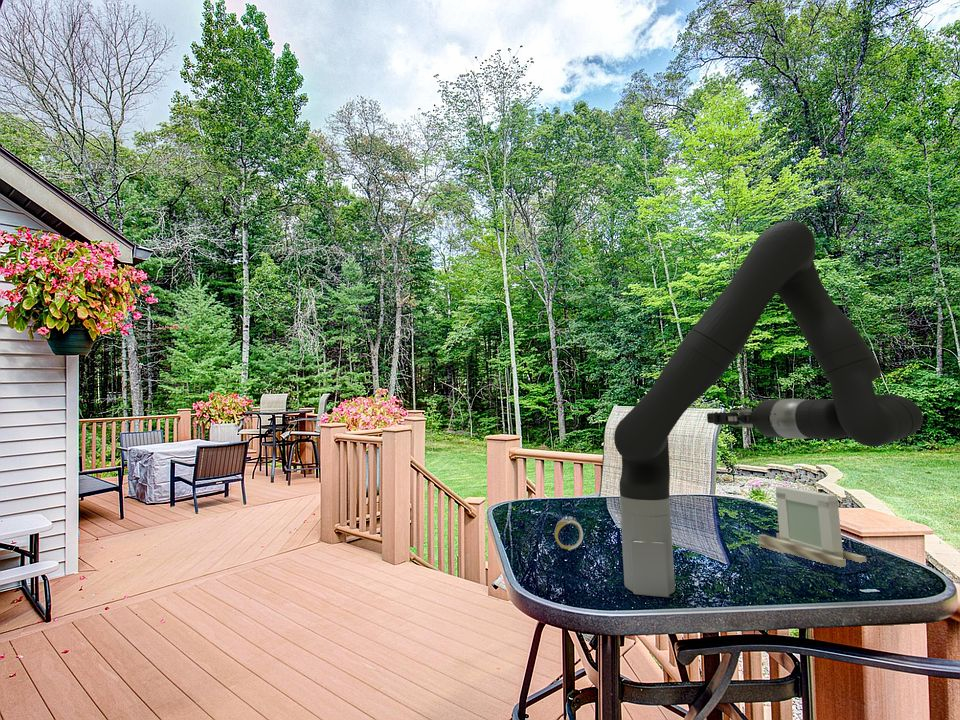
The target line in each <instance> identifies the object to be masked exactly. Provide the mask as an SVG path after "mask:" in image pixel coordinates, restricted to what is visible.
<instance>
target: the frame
mask: <svg viewBox="0 0 960 720" xmlns="http://www.w3.org/2000/svg"><path fill="white" fill-rule="evenodd" d="M775 496H776V497H775V498H776V508H777V509H776V510H777V520H778V533H779V534H780V539H781V540H784V541H787V542H791V543H794V544H797V545H800V546H804V547H807V548H810V549H814V550H817V551H820V552H824V553H827V554H830V555H833V556H837V557H840V558H843V542H842V541H843V540H842V539H843V538H842V533H841V532H842V531H841V522H840V520H841V519H840V512H839V511H840V510H839V502H838V501H839V500H838V499H839V498H838V495H836V494H830V493H829V494H828V493H824V492H819V491H814V490H807V489H802V488H797V487H791V486H784V485H783V486H782V485H781V486H775Z"/></svg>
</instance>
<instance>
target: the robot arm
mask: <svg viewBox="0 0 960 720" xmlns="http://www.w3.org/2000/svg"><path fill="white" fill-rule="evenodd" d="M816 245H817V244H816V239H815V236H814V233H813V232H812V230H811V229H810V228H809V226H807V225H806V224H805V223H802V222H800V221H797V220H786V221H782V222H778V223H776V224H773V225H771V226H769V227H768V228H766V229H765V230H764V231H763V232H761V234H760V235H759V236H757V238H756V240H755V241H754V242H753V245H752V247H750V249H749V252H748V253H747V255H746V257H745V258H744V260H743V262H742V263H741V264H740V267H739V268H738V269H737V271H736V273H735V274H734V276H733V277H732V279H731V281H730V282H729V283H728V284H727V285H726V287H725V288H724V289H723V291H721V293H720V294H719V295H718V296H717V297H716V298H715V299H714V301H713V302H712V303H711V305H710V306H709V307H708V308H707V309H706V311H705V312H704V313H703V314H702V315H701V317H700V318H699V319H698V320H697V322H696V323H695V324H694V326H693V327H692V328H691V329H690V331H689V332H688V333H687V335H685V337H684V338H683V340H682V341H681V343H680V344H679V345H678V346H677V348H676V349H675V351H674V352H673V354H671V355H672V356H671V357H670V358H669V360H668V361H667V363H666V364H665V366H664V367H663V369H662V370H661V372H660V374H659V376H658V377H657V378H656V381H655V382H654V384H653V385H651V388H650V389H649V390H648V391H647V393H646V394H645V395H644V396H643V397H642V398H641V399H640V400H639V401H638V402H637V403H636V405H634V407H633V408H632V409H631V410H630V411H628V413H627V414H626V415H625V416H624V417H623V418H622V419H621V420H620V421H619V423H618V424H617V425H616V427H615V430H614V434H613V440H614V446H615V449H616V451H617V452H618V453H619V455H620V456H621V474H620V479H619V498H620V499H619V502H620V523H621V525H620V526H621V527H620V528H621V543H622V544H621V545H622V547H621V548H622V564H623V581H624V582H623V584H624V587H625V588H626V589H627V590H629V591H631V592H632V593H633V595H639V596H640V595H641V596H650V597H651V596H652V597H662V598H669V597H670V595H672V594H673V593H675V591H676V583H675V567H674V551H673V537H672V519H671V504H670V503H671V500H670V481H671V480H670V479H671V476H670V475H671V473H670V469H671V467H670V448H669V447H670V446H669V435H670V433H671V432H672V431H673V429H674V428H675V426H676V425H677V423H678V421H679V420H680V418H681V417H682V416H683V414H684V413H685V412H686V411H687V410H688V408H689V407H690V406H692V405H693V404H694V403H695V402H697V400H698V399H700V398H701V397H702V395H704V394H705V393H707V391H708V390H709V389H710V388H711V387H712V386H713V385H714V384H715V383H716V382H717V381H718V380H719V379H720V378H721V376H723V374H724V373H725V372H726V371H727V369H728V368H729V367H730V366H731V364H732V363H733V362H734V361H735V359H736V358H737V357H738V356H739V354H740V353H741V352H742V350H743V348H744V347H745V345H746V343H747V342H748V340H749V339H750V336H752V334H753V332H754V329H755V328H756V326H757V324H758V322H759V320H760V318H761V316H762V314H763V312H764V310H765V309H766V307H767V305H769V303H770V302H771V300H772V299H773V298H774V297H775V296H776V294H777V296H778V297H779V299H781V301H782V302H783V304H784V305H785V307H787V309H788V310H789V312H790V314H791V315H792V317H793V318H794V321H795V322H796V323H797V326H798V327H799V329H800V331H801V333H802V336H803V337H804V339H805V341H806V343H807V344H808V346H809V349H810V350H811V352H812V353H813V356H814V358H815V360H816V362H817V363H818V365H819V367H820V368H821V371H822V372H823V374H824V375H825V377H826V379H827V380H828V382H829V385H830V390H831V395H832V399H827V398H826V399H824V398H822V399H821V398H819V399H803V398H781V399H780V398H776V399H773V398H772V399H765V400H761V401H760V402H759V403H758V404H757V405H756V407H755V408H745V409H731V410H730V411H728V412H722V411H720V412H718V411H715V412H708V413H707V414H706V419H707V420H706V421H707V423H708V424H713V425H715V426H719V425H722V426H723V425H725V426H726V425H728V426H731V427H734V428H735V427H744V428H745V427H746V428H748V429H756V430H757V431H758V432H759V433H760V434H762V435H763V436H765V437H767V438H779V439H780V438H782V439H794V440H795V439H797V440H803V439H805V440H806V439H818V440H819V439H820V440H837V439H842V438H846V437H847V438H848V437H849V438H851V439H852V440H853V441H855V442H857V443H858V444H860V445H862V446H865V447H879V446H884V445H886V444H889V443H892V442H895V441H898V440H901V439H904V438H907V437H910V436H912V435H913V434H915V433H916V432H917V431H919V429H921V427H922V425H923V421H924V416H923V412H922V410H921V409H920V407H919V406H918V405H917V404H916V402H914V401H912V400H911V399H909V398H907V397H904V396H902V395H897V394H893V393H892V394H891V393H881V394H876V392H875V389H874V386H873V385H874V384H873V382H874V381H875V380H877V379H878V378H879V377H880V376H881V373H882V368H881V367H880V364H879V363H878V361H877V359H876V357H875V356H874V354H873V352H872V350H871V349H870V347H869V346H868V344H867V343H866V341H865V339H864V338H863V336H862V335H861V333H860V332H859V331H858V329H857V328H856V326H855V325H854V324H853V323H852V321H850V319H849V318H848V317H847V316H846V315H845V314H844V313H843V311H842V310H841V309H840V308H839V307H838V306H837V304H835V302H834V301H833V299H832V298H831V296H830V295H829V294H828V291H827V290H826V288H825V286H824V285H823V283H822V280H821V278H820V275H819V274H818V271H817V268H816V265H815V262H814V260H815V254H816V247H817V246H816Z"/></svg>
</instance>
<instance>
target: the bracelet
mask: <svg viewBox="0 0 960 720" xmlns="http://www.w3.org/2000/svg"><path fill="white" fill-rule="evenodd" d="M567 524H571V525H574V526H575V527H576V528H577V530H578V532H579V534H578V535H579V537H578V540H577V541H576V543H575V544H573V545H570V544H568V545H564V544H562V542H561V541H560V540H559V532H560V530H561V529H562V528H563V527H564V526H566V525H567ZM554 538H555V541H556V543H557V545H558V546H559V547H561V548H562V549H564V550H568V551H572V550H574V549H576V548H578V547H579V546H580V545H581V544H582V541H583V538H584V531H583V528H582V526H581V524H580V523H579V522H578V521H577V520H576V517H573V516H570V515H569V516H567V515H565V516H563V517H562V518H561V519H560V520H559V521H558V522H557V523H556V526H555V529H554Z"/></svg>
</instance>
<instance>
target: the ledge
mask: <svg viewBox="0 0 960 720" xmlns="http://www.w3.org/2000/svg"><path fill="white" fill-rule="evenodd" d="M758 544H759V545H758V546H759V548H760V547H762V548H766V549H769V550H773V551H777V552H781V553H787V554H791V555H795V556H798V557H802V558H805V559H809V560H812V561H816V562H820V563H823V564H828V565H833V566H837V567H840V568H841V567H845V566H846V559H848V560H852V561H855V562H859V563H862V562H867V556H865V555H860V554H857V553H853V552H850V551H847V550H843V558H844V559H843V558H840V557H837V556H833V555H830V554H827V553H824V552H820V551H817V550H814V549H810V548H807V547H804V546H800V545H797V544H794V543H791V542H787V541H784V540H781V539H780V534H779V532H776V537H773V536H770V535H768V534H758ZM762 548H761V549H762Z"/></svg>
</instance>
